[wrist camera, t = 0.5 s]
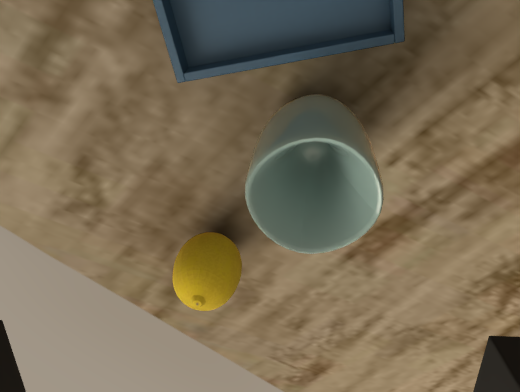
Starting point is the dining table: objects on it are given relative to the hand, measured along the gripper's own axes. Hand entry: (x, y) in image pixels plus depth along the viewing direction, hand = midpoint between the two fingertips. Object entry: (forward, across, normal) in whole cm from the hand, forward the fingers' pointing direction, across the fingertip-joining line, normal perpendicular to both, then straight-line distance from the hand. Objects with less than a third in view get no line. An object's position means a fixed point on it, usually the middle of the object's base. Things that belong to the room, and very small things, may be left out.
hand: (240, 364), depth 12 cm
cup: (+23, +3, 0) cm, 24 cm away
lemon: (+25, -5, -11) cm, 27 cm away
